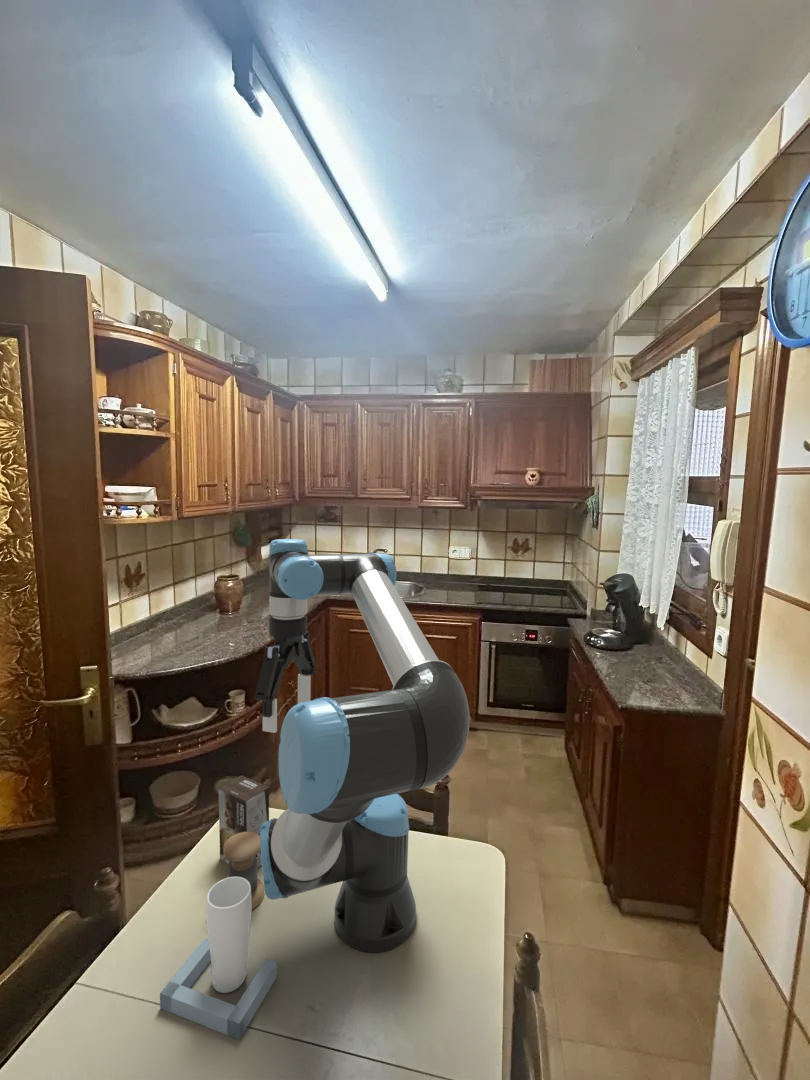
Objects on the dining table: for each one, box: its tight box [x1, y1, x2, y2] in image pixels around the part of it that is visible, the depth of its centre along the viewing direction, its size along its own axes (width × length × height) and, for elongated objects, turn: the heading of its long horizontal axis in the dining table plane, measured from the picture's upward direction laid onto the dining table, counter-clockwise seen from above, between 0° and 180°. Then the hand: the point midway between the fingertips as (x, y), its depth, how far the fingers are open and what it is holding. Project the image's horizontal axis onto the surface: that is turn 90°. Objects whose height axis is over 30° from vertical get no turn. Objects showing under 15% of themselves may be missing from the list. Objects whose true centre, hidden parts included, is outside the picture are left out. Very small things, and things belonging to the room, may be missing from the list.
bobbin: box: [223, 832, 265, 911], centre depth 96 cm, size 8×8×11 cm
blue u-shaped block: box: [159, 937, 278, 1041], centre depth 78 cm, size 14×10×2 cm
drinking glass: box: [206, 876, 252, 994], centre depth 79 cm, size 7×7×15 cm
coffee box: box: [218, 774, 270, 869], centre depth 106 cm, size 9×6×16 cm
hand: (287, 716), depth 102 cm, fingers open, 13 cm apart
